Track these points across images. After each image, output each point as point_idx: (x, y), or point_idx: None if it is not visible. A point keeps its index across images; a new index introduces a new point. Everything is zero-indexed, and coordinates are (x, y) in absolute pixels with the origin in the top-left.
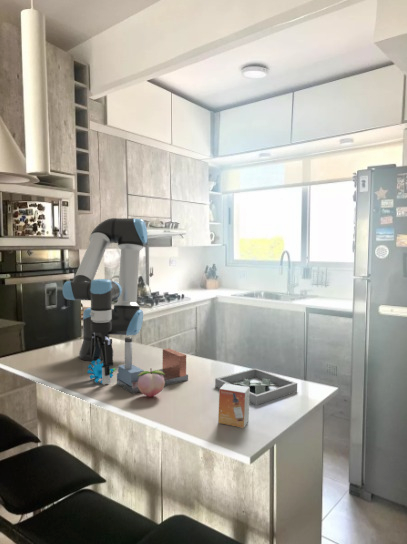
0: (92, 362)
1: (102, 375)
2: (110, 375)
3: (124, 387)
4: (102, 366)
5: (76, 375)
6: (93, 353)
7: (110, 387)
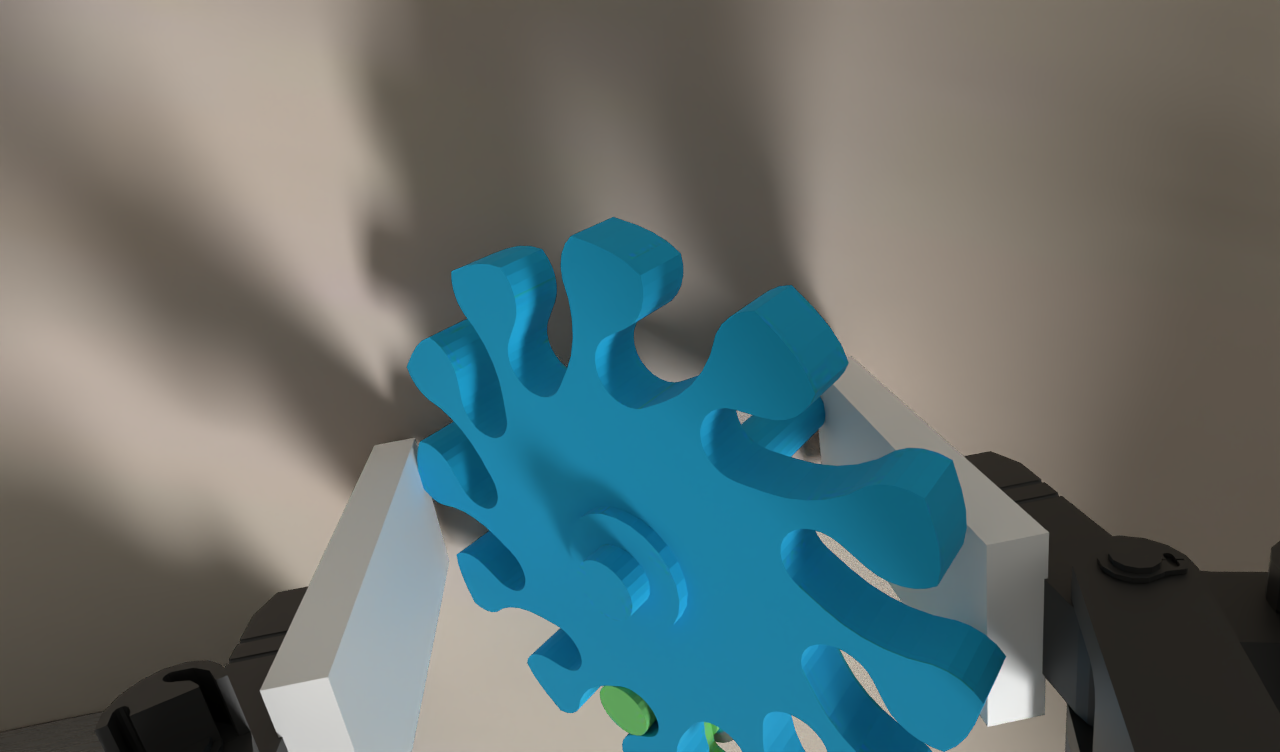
0: (869, 492)
1: (361, 531)
2: (552, 665)
3: (64, 733)
4: (129, 703)
5: (1216, 88)
6: (1240, 741)
7: (224, 532)
